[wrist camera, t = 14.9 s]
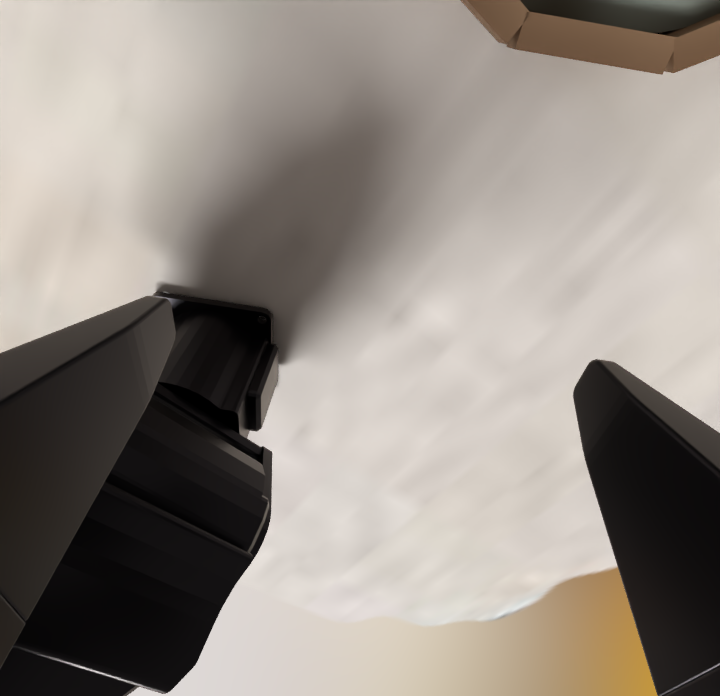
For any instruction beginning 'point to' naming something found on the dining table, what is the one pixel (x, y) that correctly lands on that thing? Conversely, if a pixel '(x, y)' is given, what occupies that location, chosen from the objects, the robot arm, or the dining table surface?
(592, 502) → the dining table surface
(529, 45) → the round tray
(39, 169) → the dining table surface
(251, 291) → the dining table surface
